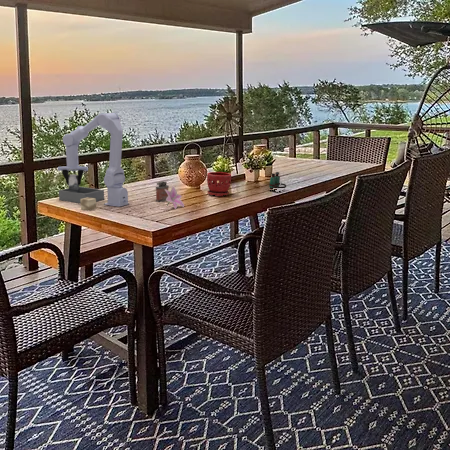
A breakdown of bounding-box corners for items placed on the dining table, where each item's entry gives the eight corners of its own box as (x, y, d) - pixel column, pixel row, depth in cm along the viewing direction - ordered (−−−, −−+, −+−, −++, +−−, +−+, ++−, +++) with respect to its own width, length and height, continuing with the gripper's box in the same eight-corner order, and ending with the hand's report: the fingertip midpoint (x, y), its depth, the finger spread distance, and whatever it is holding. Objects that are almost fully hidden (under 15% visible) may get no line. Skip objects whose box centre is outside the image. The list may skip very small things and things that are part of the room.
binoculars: (283, 176, 286) (267, 172, 291) (280, 194, 289) (265, 190, 294) (291, 174, 293) (275, 171, 298) (288, 192, 296) (273, 188, 301)
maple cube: (96, 208, 244) (95, 198, 243) (89, 210, 240) (88, 200, 239) (88, 207, 247) (87, 197, 245) (80, 209, 242) (80, 199, 241)
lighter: (165, 199, 269) (165, 180, 266) (170, 199, 267) (170, 180, 264) (154, 201, 263) (154, 181, 260) (159, 202, 261) (158, 182, 258)
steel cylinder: (79, 187, 265) (78, 174, 262) (78, 190, 260) (77, 176, 258) (69, 187, 264) (68, 174, 262) (68, 190, 259) (67, 176, 257)
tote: (104, 199, 264) (103, 189, 263) (85, 204, 253) (85, 194, 252) (78, 195, 272) (78, 186, 271) (59, 200, 261) (58, 190, 260)
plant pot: (217, 198, 273) (217, 175, 270) (202, 194, 282) (202, 172, 279) (235, 195, 281) (236, 173, 278) (220, 191, 290) (220, 170, 287)
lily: (161, 212, 244) (170, 196, 240) (154, 198, 252) (162, 182, 248) (182, 217, 251) (191, 201, 247) (174, 203, 259) (183, 188, 256)
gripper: (55, 159, 254) (57, 186, 257) (85, 159, 255) (87, 186, 259) (58, 157, 260) (60, 183, 264) (88, 157, 262) (89, 183, 265)
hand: (73, 184), depth 262 cm, fingers closed on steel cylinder, 5 cm apart
